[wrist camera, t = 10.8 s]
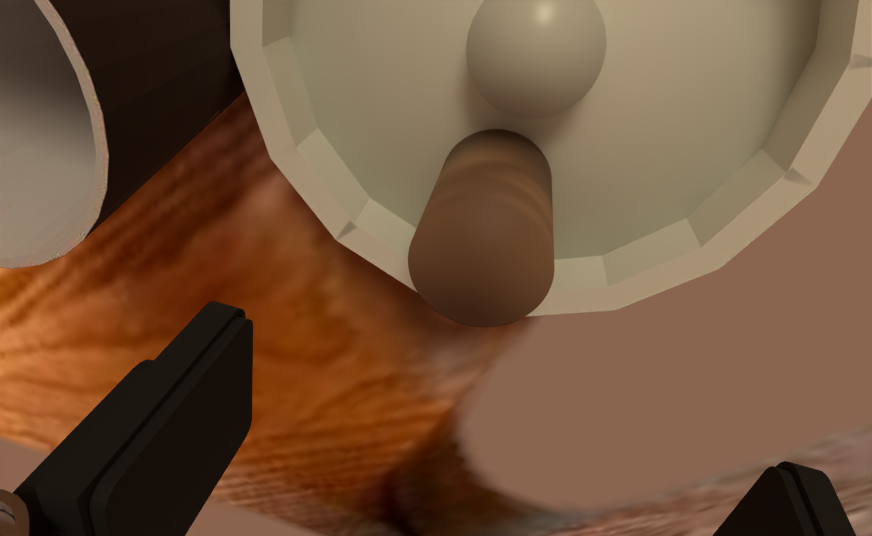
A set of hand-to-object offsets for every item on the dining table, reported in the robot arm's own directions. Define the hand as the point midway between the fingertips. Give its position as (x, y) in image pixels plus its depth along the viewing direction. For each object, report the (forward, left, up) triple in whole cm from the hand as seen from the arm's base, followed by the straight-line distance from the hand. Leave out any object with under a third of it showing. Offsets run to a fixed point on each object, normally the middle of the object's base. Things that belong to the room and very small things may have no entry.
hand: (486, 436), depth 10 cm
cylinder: (+1, 0, -12) cm, 12 cm away
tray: (+1, -5, -13) cm, 14 cm away
